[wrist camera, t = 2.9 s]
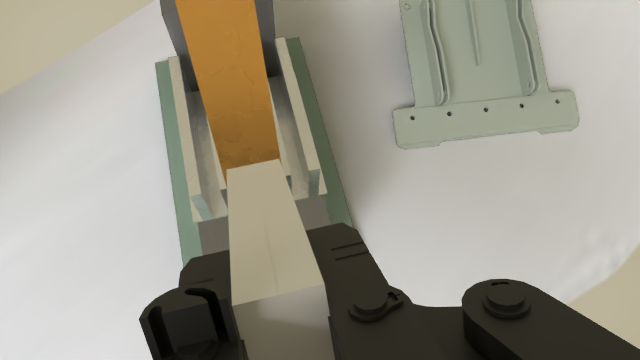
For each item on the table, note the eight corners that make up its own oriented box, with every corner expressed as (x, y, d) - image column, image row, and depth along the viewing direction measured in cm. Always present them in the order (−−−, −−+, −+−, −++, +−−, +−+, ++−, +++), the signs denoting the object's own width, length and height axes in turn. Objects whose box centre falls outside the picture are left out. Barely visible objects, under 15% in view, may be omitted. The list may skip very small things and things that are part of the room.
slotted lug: (279, 85, 40) (271, -5, 31) (194, 101, 39) (161, 13, 30) (269, 46, 41) (259, -50, 32) (187, 61, 40) (154, -34, 31)
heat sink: (341, 260, 34) (351, 224, 27) (208, 291, 33) (181, 263, 26) (295, 88, 40) (293, 20, 32) (180, 110, 38) (151, 44, 31)
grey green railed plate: (359, 258, 35) (361, 255, 34) (190, 298, 33) (187, 296, 33) (298, 43, 42) (298, 37, 42) (157, 68, 41) (154, 62, 40)
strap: (287, 208, 29) (292, 225, 28) (237, 219, 29) (239, 236, 28) (237, -87, 18) (241, -78, 17) (156, -75, 18) (155, -65, 17)
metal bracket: (377, -23, 38) (560, -39, 40) (365, 12, 44) (525, -3, 45) (405, 157, 37) (595, 134, 38) (389, 169, 42) (554, 149, 44)
